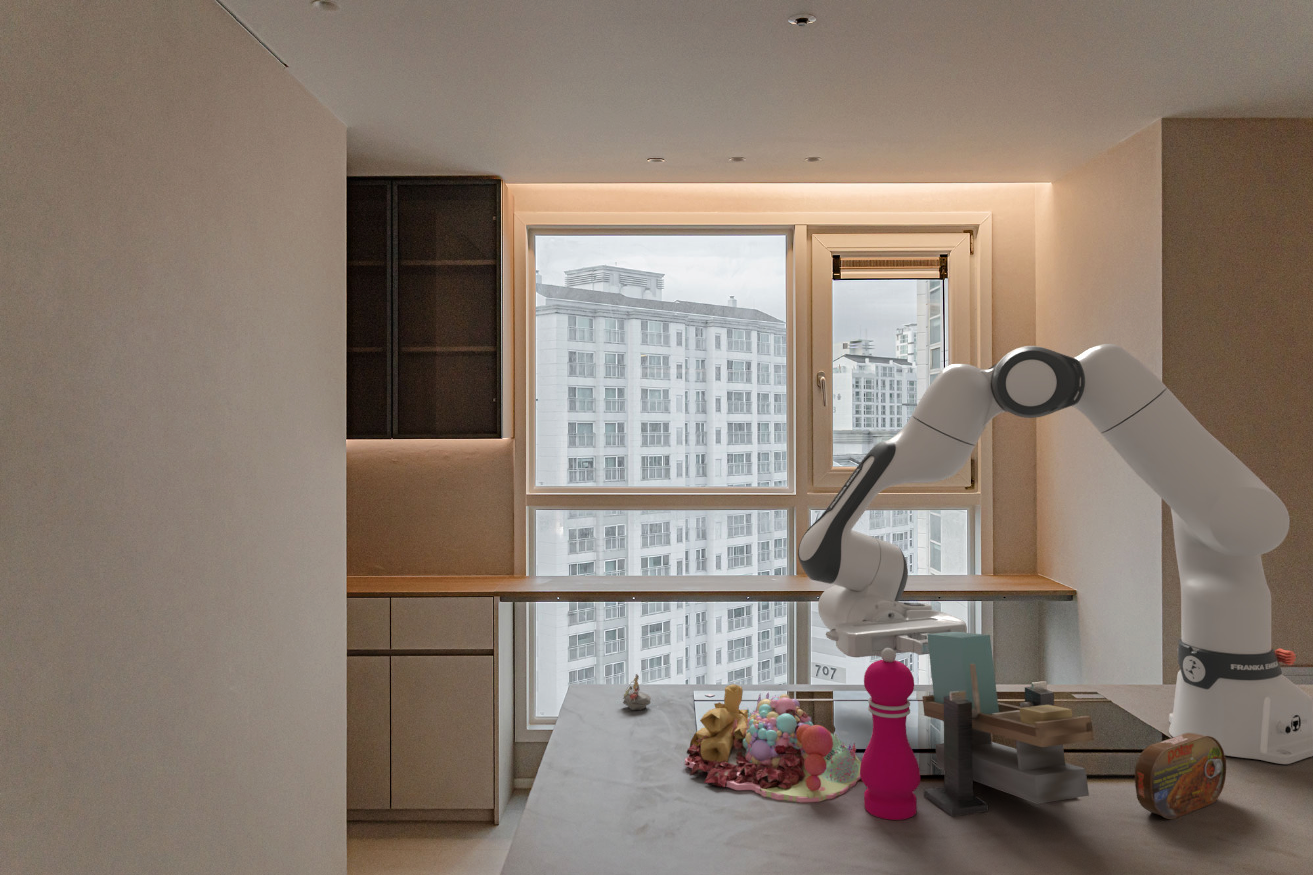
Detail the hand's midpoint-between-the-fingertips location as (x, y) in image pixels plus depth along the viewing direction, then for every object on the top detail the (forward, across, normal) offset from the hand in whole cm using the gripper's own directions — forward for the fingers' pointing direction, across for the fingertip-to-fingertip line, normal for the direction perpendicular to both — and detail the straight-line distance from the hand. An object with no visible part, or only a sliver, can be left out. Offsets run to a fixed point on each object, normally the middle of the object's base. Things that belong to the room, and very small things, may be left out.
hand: (929, 648), depth 125 cm
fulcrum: (+16, 0, +15) cm, 22 cm away
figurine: (-31, -36, +15) cm, 50 cm away
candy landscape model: (-3, -23, +15) cm, 28 cm away
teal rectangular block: (+9, 0, +6) cm, 11 cm away
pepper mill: (+15, -15, +15) cm, 26 cm away
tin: (+25, +19, +15) cm, 35 cm away
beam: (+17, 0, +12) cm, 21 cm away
